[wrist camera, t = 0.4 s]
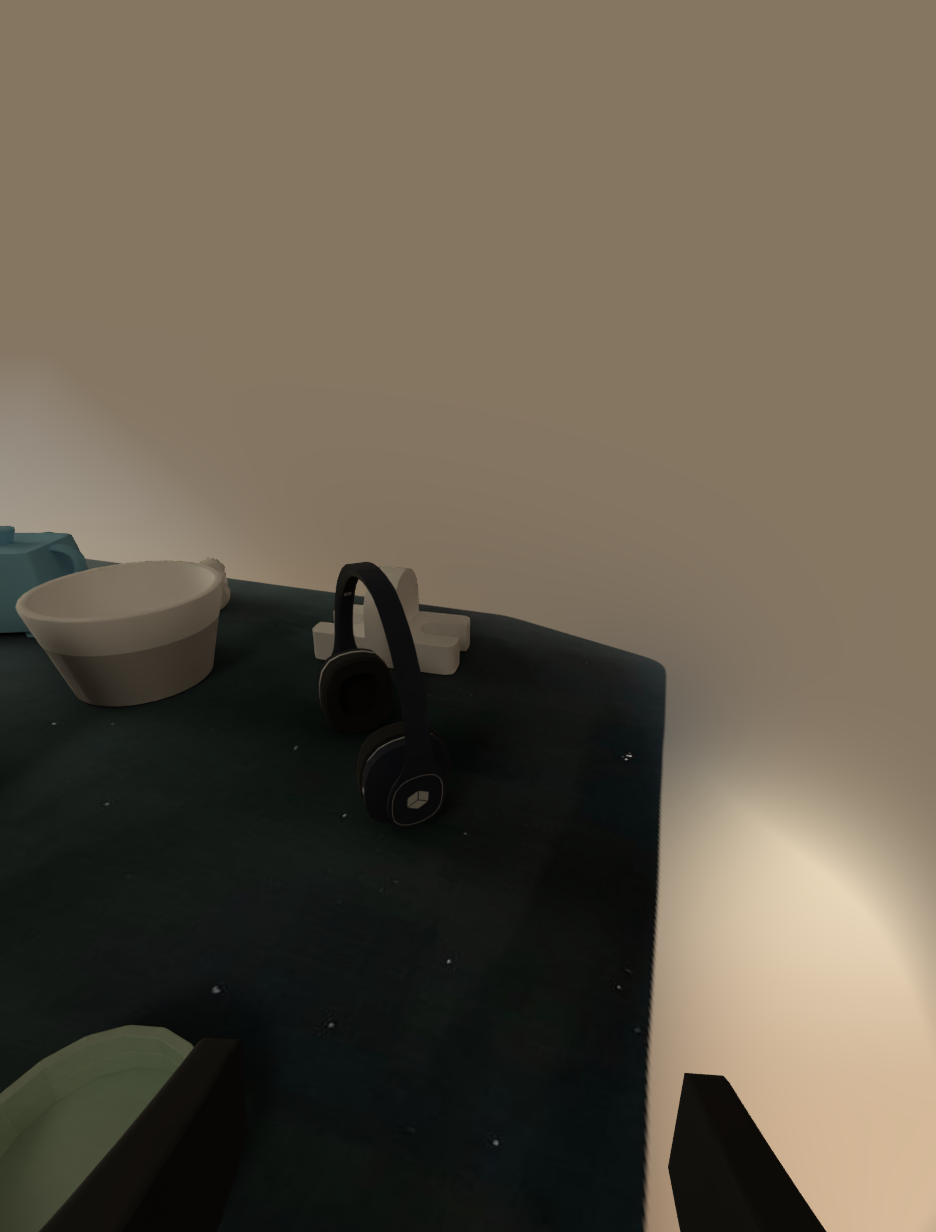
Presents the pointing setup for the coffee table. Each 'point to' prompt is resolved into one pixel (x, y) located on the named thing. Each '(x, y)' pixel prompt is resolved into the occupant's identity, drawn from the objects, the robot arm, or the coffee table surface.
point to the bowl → (128, 629)
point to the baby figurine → (225, 589)
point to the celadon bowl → (76, 1115)
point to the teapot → (32, 568)
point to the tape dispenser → (430, 631)
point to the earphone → (384, 708)
